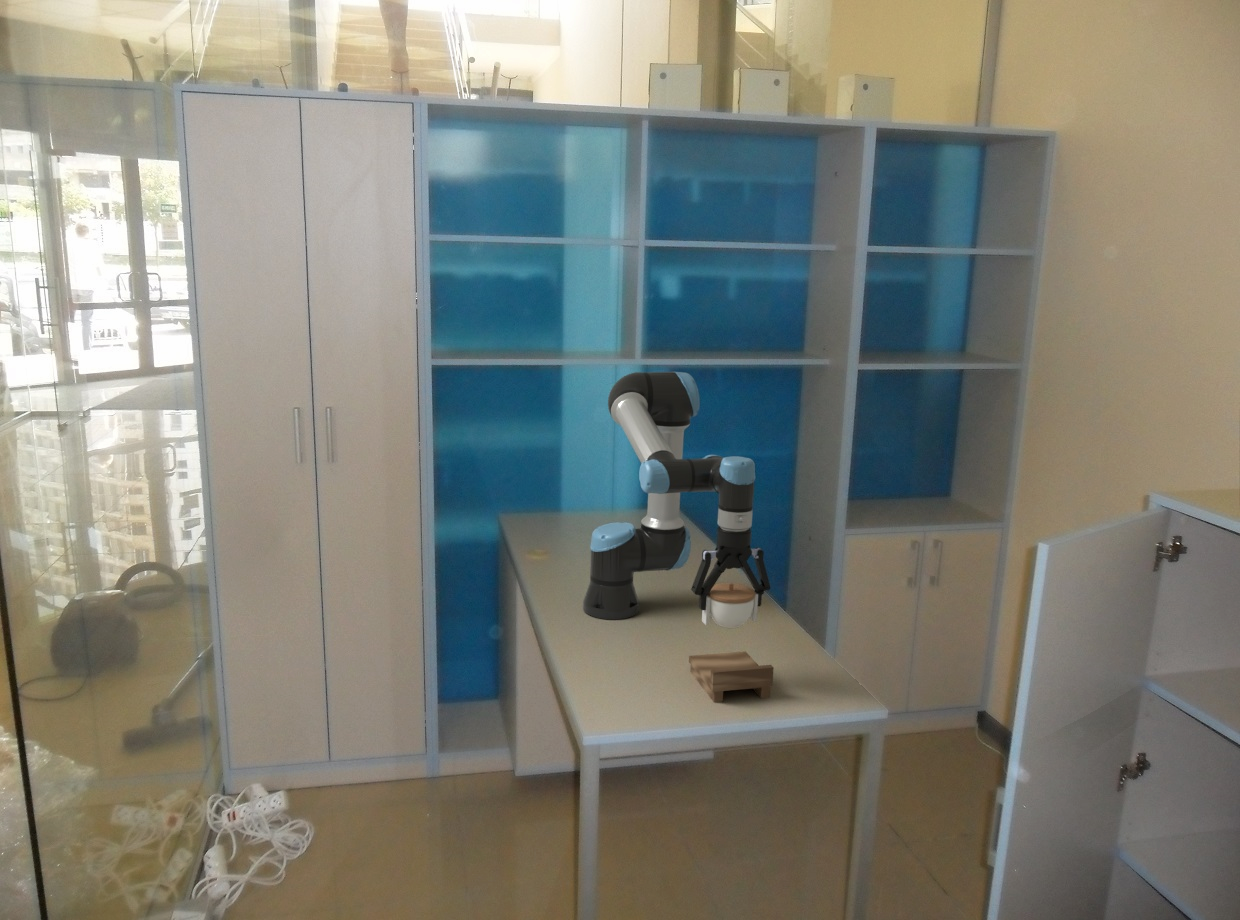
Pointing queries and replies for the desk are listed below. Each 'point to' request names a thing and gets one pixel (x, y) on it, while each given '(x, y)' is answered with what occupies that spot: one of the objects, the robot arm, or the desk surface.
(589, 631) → the desk surface
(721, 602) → the lidded jar
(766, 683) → the wooden stand
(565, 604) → the desk surface
